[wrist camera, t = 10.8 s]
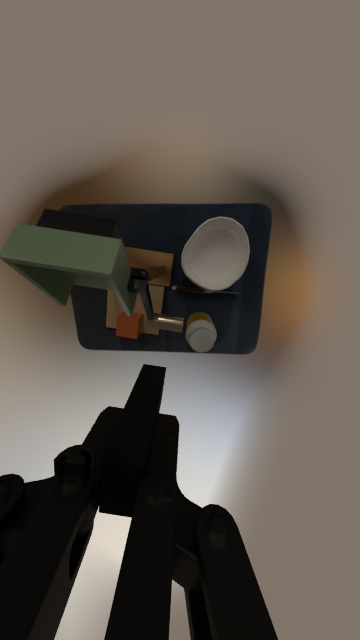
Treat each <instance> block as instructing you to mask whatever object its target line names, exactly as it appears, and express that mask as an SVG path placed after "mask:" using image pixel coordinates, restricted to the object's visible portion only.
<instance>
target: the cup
mask: <svg viewBox="0 0 360 640" xmlns="http://www.w3.org/2000/svg"><path fill="white" fill-rule="evenodd" d="M249 253H250V247H249V240H248V236H247V234H246V232H245V230H244V228H243V226H242V225H241V224H239V223H238V222H237V221H235V220H234V219H233V218H227V217H216V218H212V219H208V220H207V221H206V222H204V223H203V224H202V225H201V226H199V227H198V228H197V230H196V231H195V232H194V233H193V235H192V236H191V237H190V239H189V240H188V242H187V243H186V245H185V246H184V249H183V252H182V255H181V265H182V268H183V271H184V273H185V275H186V276H187V277H188V278H189V279H190V280H191V281H192V282H193V283H195V284H196V285H198V286H200V287H201V288H204V289H207V290H210V291H221V290H224V289H226V288H229V287H230V286H231V285H232V284H233V283H235V282H236V281H237V280H238V279H239V278H240V277H241V276H242V274H243V273H244V271H245V269H246V266H247V264H248V260H249Z"/></svg>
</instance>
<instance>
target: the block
mask: <svg viewBox="0 0 360 640" xmlns="http://www.w3.org/2000/svg"><path fill="white" fill-rule="evenodd" d="M142 324H143V314H141V313H135V312H133V315H132V316H127V315H126V313H125V311H123V312H122V313H120V314H119V315H118V316H117V329H116V336H121V337H127V338H133V339H137V338H138V337H139V335H140V334H141V332H142Z"/></svg>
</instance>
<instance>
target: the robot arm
mask: <svg viewBox="0 0 360 640" xmlns="http://www.w3.org/2000/svg"><path fill="white" fill-rule="evenodd" d="M165 371H166V367H160V366H153V365H147V364H144V365H143V367H142V369H141V371H140V374H139V376H138V378H137V380H136V383H135V385H134V387H133V389H132V392H131V394H130V396H129V398H128V400H127V403H126V405H125V407H124V409H123V408H117V407H111V406H109V407H107V408H106V409H105V410H103V412H101V413H100V415H99V416H98V418H97V420H96V422H95V424H94V425H93V427H92V428H91V431H90V432H89V433H88V435H87V437H86V438H85V440H84V442H83V444H82V445H75V446H72V447H69V448H67V449H65V450H64V451H62V452H61V453H60V454H59V455H58V456H57V457H56V458H55V459H54V472H55V476H53V477H50V478H47V479H44V480H38V481H33V482H27V483H24V480H23V479H22V477H20V476H19V475H15V474H8V475H3V476H0V640H54V638H55V635H56V632H57V630H58V627H59V624H60V621H61V618H62V615H63V613H64V610H65V607H66V604H67V601H68V598H69V596H70V593H71V590H72V587H73V585H74V582H75V579H76V576H77V573H78V570H79V568H80V565H81V562H82V559H83V557H84V554H85V551H86V548H87V545H88V543H89V540H90V537H91V534H92V530H93V524H94V518H95V515H96V512H97V509H98V506H99V512H100V513H107V514H113V515H119V516H126V517H132V520H131V524H130V529H129V533H128V537H127V542H126V546H125V551H124V555H123V560H122V564H121V569H120V573H119V577H118V581H117V586H116V590H115V595H114V600H113V604H112V608H111V612H110V617H109V622H108V626H107V630H106V635H105V639H104V640H169V622H170V605H171V587H172V580H174V581H175V582H177V583H178V584H179V585H180V586H182V587H183V588H184V591H185V598H186V606H187V614H188V621H189V629H190V636H191V640H278V638H277V635H276V632H275V630H274V627H273V624H272V621H271V619H270V616H269V613H268V610H267V607H266V605H265V602H264V599H263V596H262V593H261V591H260V588H259V585H258V582H257V580H256V577H255V574H254V571H253V568H252V566H251V563H250V560H249V557H248V555H247V552H246V549H245V546H244V543H243V541H242V538H241V535H240V532H239V529H238V527H237V525H236V523H235V521H234V519H233V517H232V516H231V514H229V512H228V511H227V510H226V509H224V508H223V507H221V506H219V505H215V504H209V505H207V506H205V507H204V508H201V507H200V506H198V505H196V504H194V503H193V502H191V501H190V500H188V499H187V498H186V497H185V496H184V495H183V494H182V493H181V491H180V489H179V487H178V484H177V481H176V471H177V455H178V454H177V453H178V438H179V423H178V420H177V418H176V416H172V415H165V414H160V413H159V409H160V405H161V399H162V392H163V385H164V378H165Z"/></svg>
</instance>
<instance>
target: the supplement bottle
mask: <svg viewBox="0 0 360 640" xmlns="http://www.w3.org/2000/svg"><path fill="white" fill-rule="evenodd" d="M216 337H217V332H216V329H215V326H214V324H213V321H212V319H211V317H210V316H209V315H208V314H206V313H204V312H195V313H193V314H191V315H190V316H189V318H188V319H187V323H186V340H187V342H188V343H189V345H190V346H191V347H192V349H193V350H195V351H197V352H201V353H203V352H207V351H209V350H210V349H211V348H212V347H213V345H214V342H215V340H216Z"/></svg>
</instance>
